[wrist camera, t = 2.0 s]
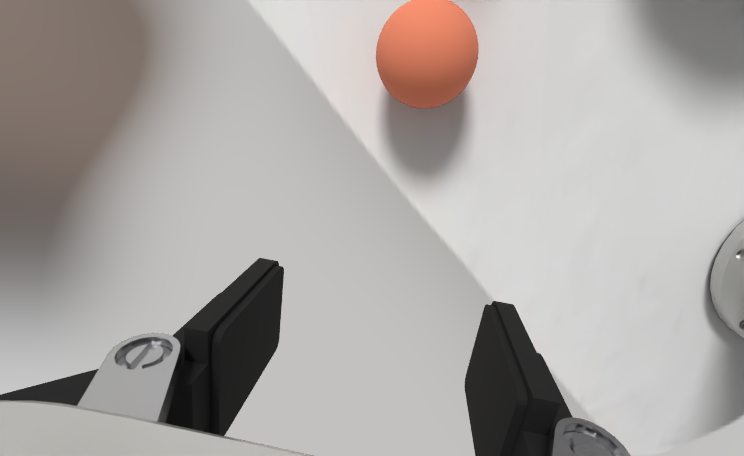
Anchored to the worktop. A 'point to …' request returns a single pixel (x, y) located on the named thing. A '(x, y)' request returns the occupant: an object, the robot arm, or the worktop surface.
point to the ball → (427, 52)
